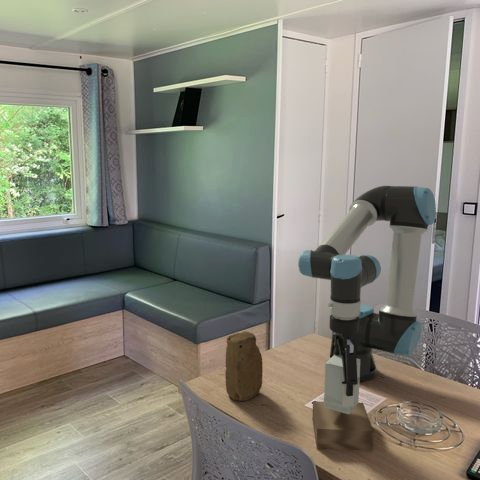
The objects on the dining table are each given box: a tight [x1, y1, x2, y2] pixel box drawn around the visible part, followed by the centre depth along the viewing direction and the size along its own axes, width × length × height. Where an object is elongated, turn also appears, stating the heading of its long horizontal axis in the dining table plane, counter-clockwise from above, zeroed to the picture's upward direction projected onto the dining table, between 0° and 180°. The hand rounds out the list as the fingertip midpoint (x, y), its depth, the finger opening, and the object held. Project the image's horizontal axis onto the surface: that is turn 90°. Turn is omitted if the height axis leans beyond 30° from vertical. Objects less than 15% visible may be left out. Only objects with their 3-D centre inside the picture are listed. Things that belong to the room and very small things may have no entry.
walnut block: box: [311, 400, 374, 452], centre depth 131 cm, size 14×14×6 cm
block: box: [224, 331, 264, 402], centre depth 151 cm, size 11×8×20 cm
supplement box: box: [323, 355, 360, 414], centre depth 129 cm, size 7×7×13 cm
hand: (341, 395), depth 129 cm, fingers closed on supplement box, 10 cm apart
